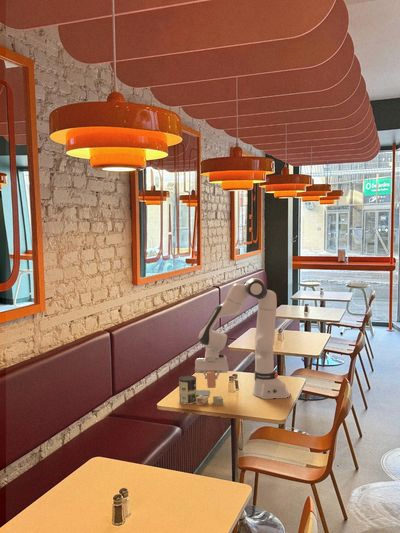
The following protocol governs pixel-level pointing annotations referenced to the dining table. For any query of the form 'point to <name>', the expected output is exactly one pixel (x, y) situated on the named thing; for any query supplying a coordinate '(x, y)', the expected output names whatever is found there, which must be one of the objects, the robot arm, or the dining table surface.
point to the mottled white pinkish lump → (202, 400)
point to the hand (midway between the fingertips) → (211, 378)
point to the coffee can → (187, 389)
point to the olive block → (218, 400)
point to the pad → (202, 392)
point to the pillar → (211, 379)
